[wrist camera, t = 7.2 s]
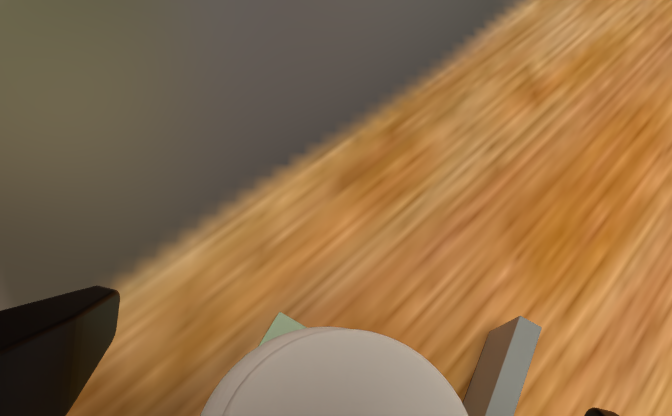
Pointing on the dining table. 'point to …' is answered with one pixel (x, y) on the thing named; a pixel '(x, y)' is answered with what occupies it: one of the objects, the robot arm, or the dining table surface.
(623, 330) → the dining table surface
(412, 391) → the supplement bottle
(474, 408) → the acrylic wall
